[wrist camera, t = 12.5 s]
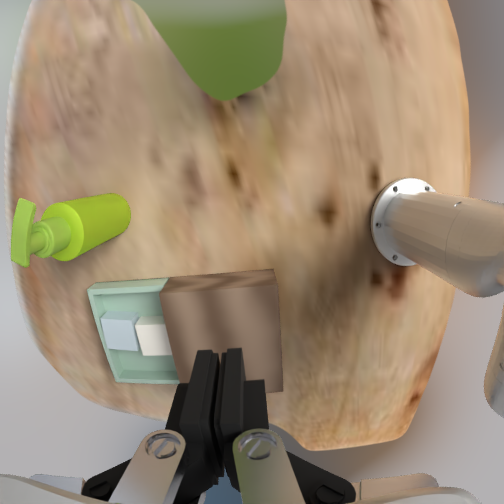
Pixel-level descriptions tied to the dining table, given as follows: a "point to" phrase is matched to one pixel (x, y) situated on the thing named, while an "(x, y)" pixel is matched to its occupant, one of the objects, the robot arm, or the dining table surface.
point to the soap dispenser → (67, 227)
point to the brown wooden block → (226, 321)
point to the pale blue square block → (120, 330)
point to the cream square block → (153, 336)
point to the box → (146, 304)
